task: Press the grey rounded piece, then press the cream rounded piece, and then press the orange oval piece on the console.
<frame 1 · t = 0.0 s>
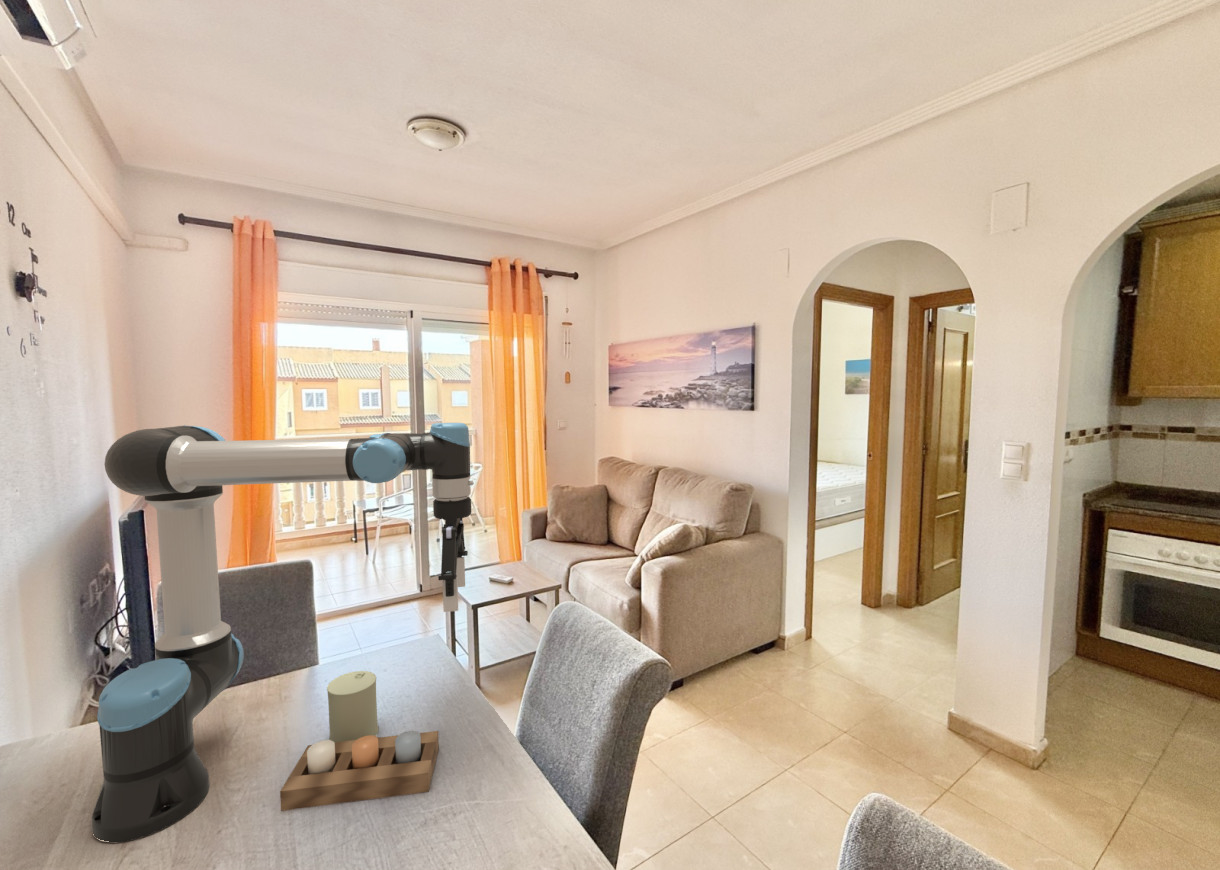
hand: (455, 598, 110), 28 cm above the table, fingers open, 13 cm apart
orange oval piece: (365, 754, 97), point 4 cm above the table, slide at 0.0 cm
console: (366, 776, 97), on the table
grey rounded piece: (408, 749, 98), point 4 cm above the table, slide at 0.0 cm
cream rounded piece: (321, 760, 95), point 4 cm above the table, slide at 0.0 cm
can: (354, 736, 109), on the table
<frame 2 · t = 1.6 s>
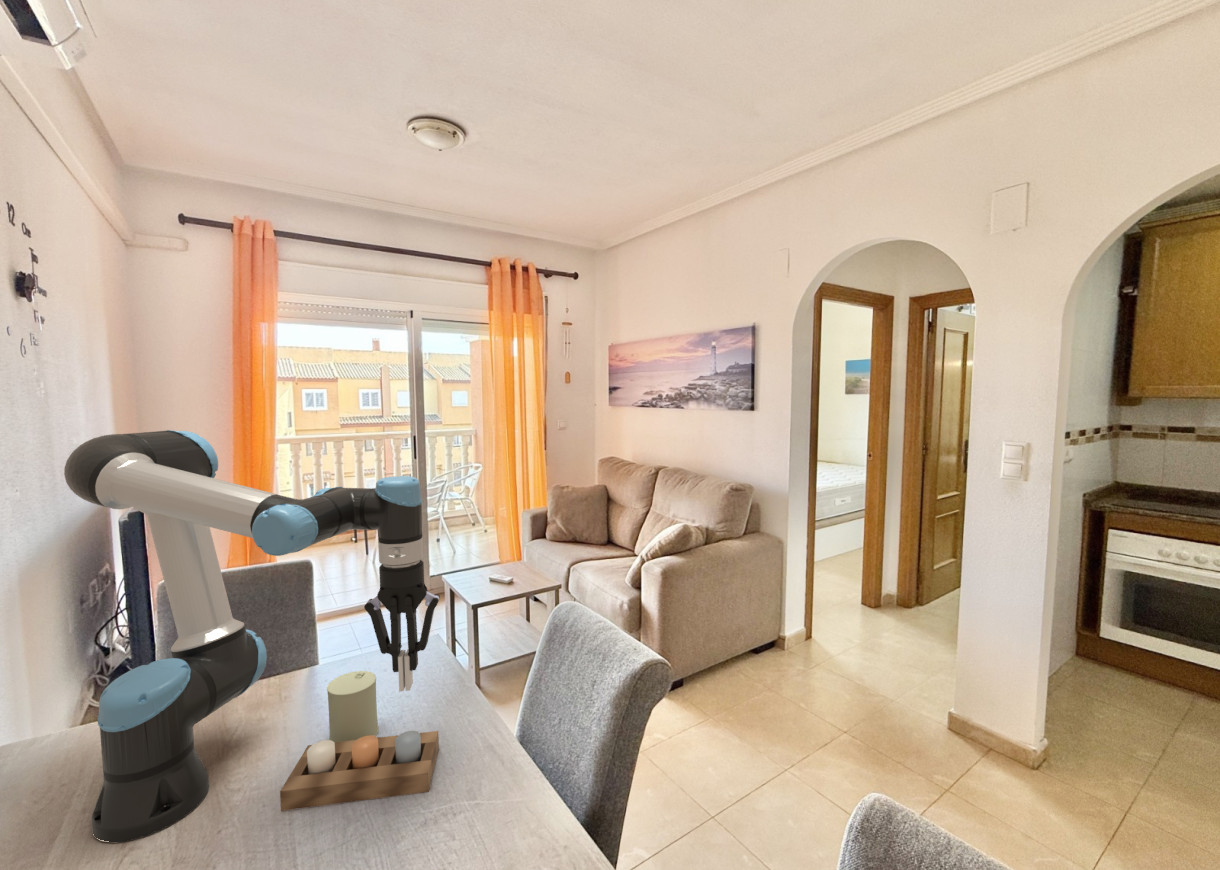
hand: (406, 686, 97), 16 cm above the table, fingers closed
nothing on the table moved.
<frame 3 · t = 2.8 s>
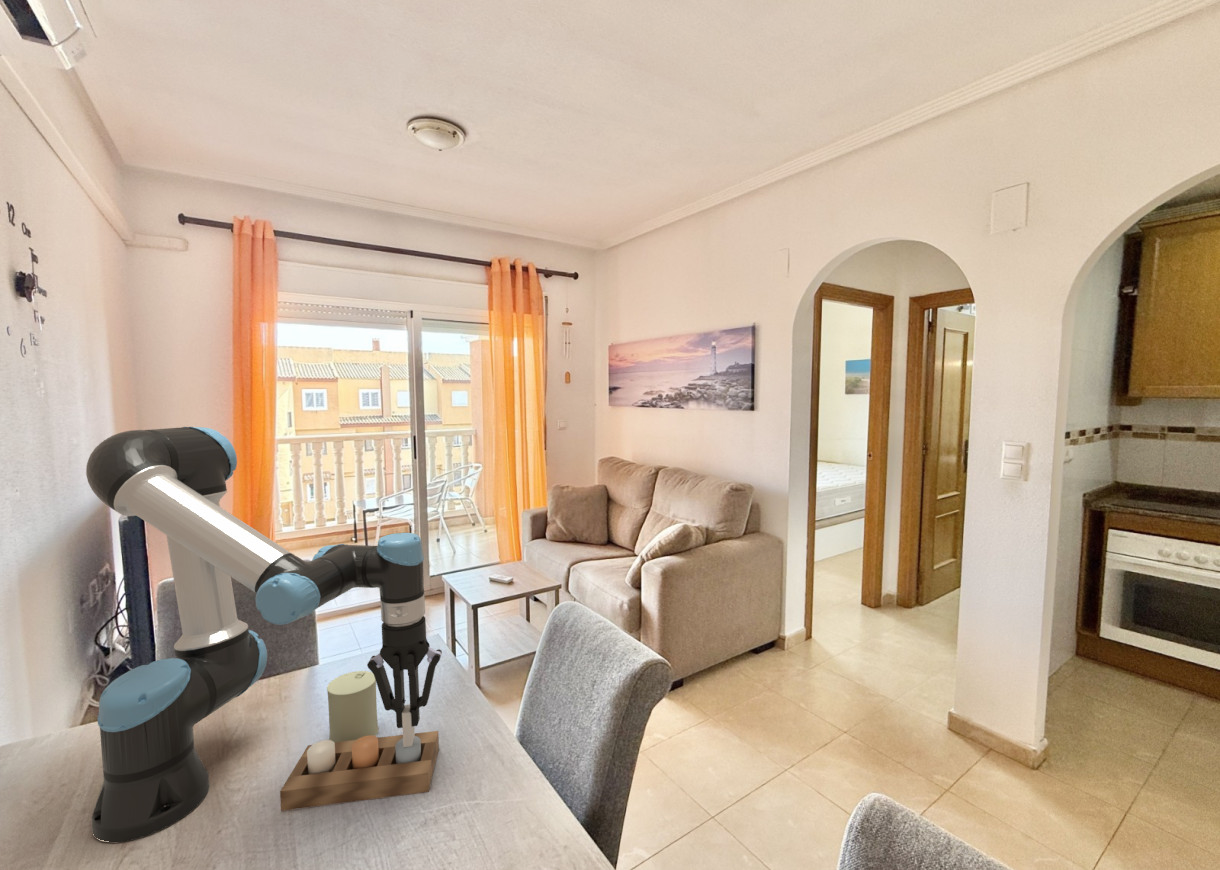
hand: (409, 742, 98), 6 cm above the table, fingers closed
grey rounded piece: (408, 755, 98), point 3 cm above the table, slide at 1.0 cm, touching gripper
everything else where it was.
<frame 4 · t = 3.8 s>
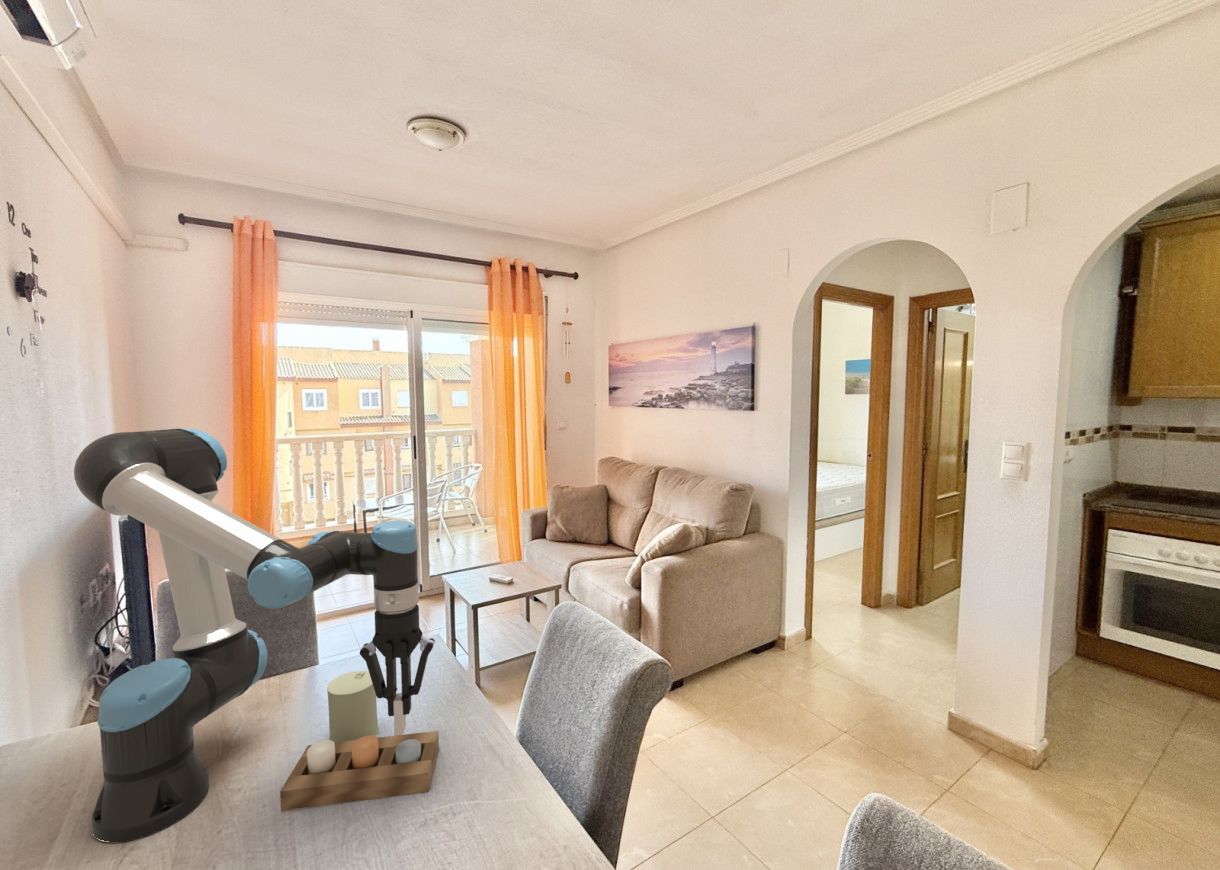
hand: (400, 730, 97), 8 cm above the table, fingers closed
grey rounded piece: (408, 758, 98), point 3 cm above the table, slide at 1.7 cm
everything else where it was.
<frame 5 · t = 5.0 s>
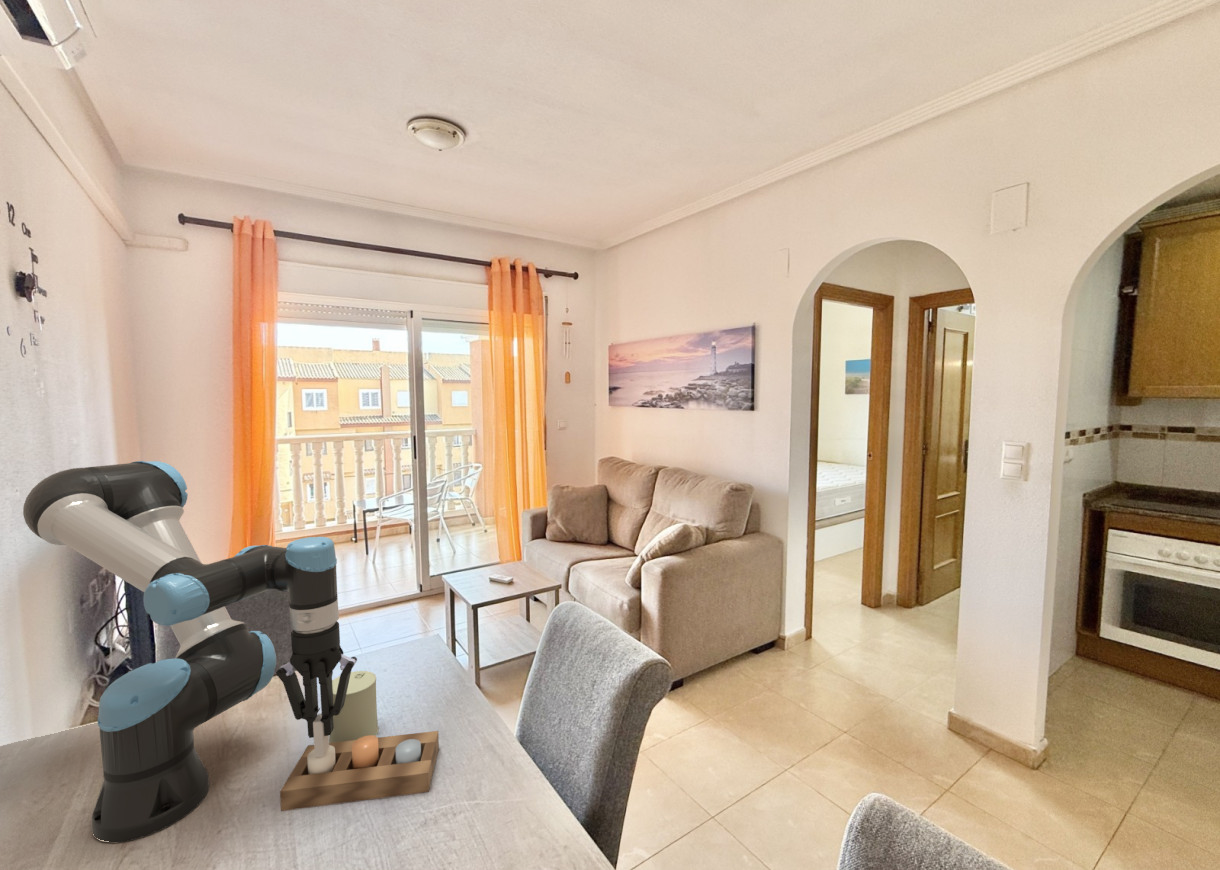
hand: (322, 751, 95), 6 cm above the table, fingers closed
cream rounded piece: (321, 765, 95), point 3 cm above the table, slide at 1.0 cm, touching gripper
everything else where it was.
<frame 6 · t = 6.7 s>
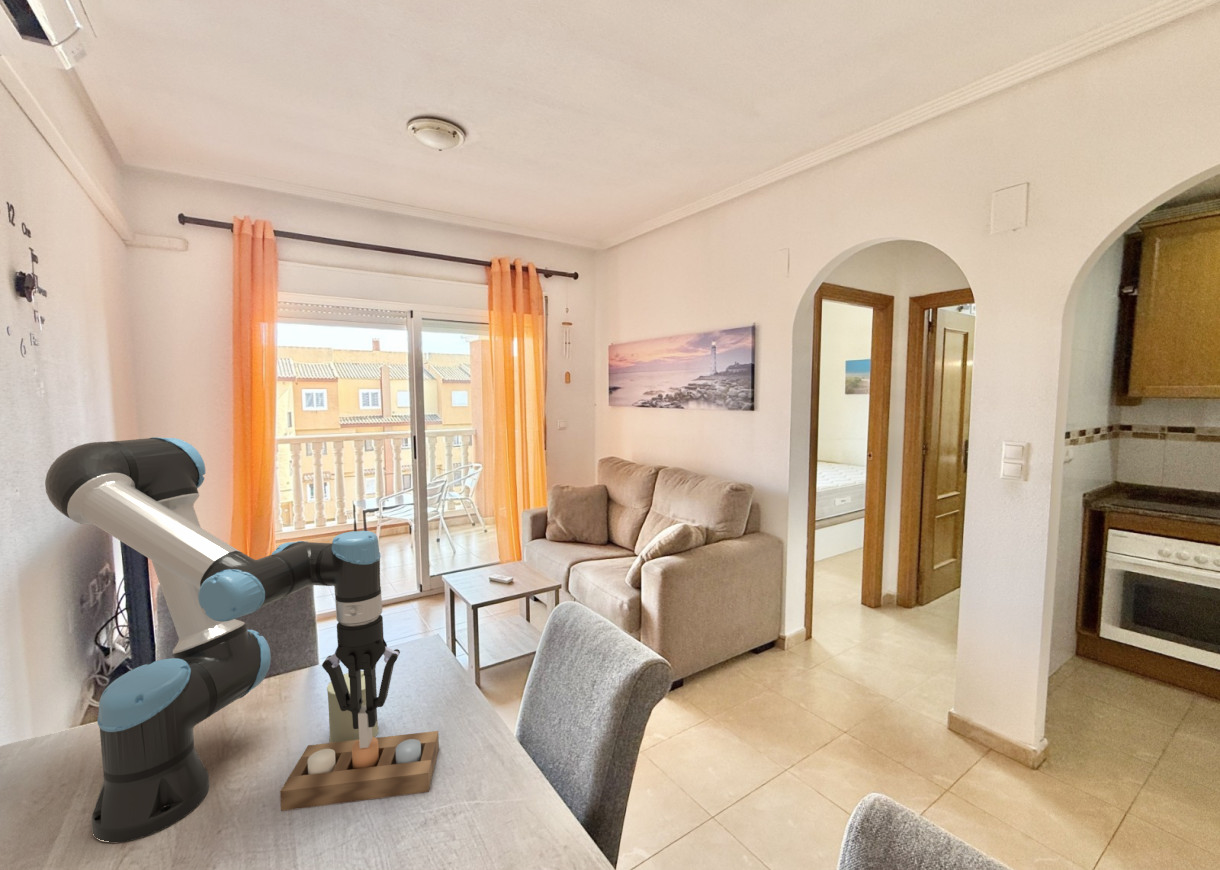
hand: (366, 743, 96), 6 cm above the table, fingers closed
orange oval piece: (365, 756, 97), point 4 cm above the table, slide at 0.3 cm, touching gripper
cream rounded piece: (322, 768, 95), point 3 cm above the table, slide at 1.7 cm
everything else where it was.
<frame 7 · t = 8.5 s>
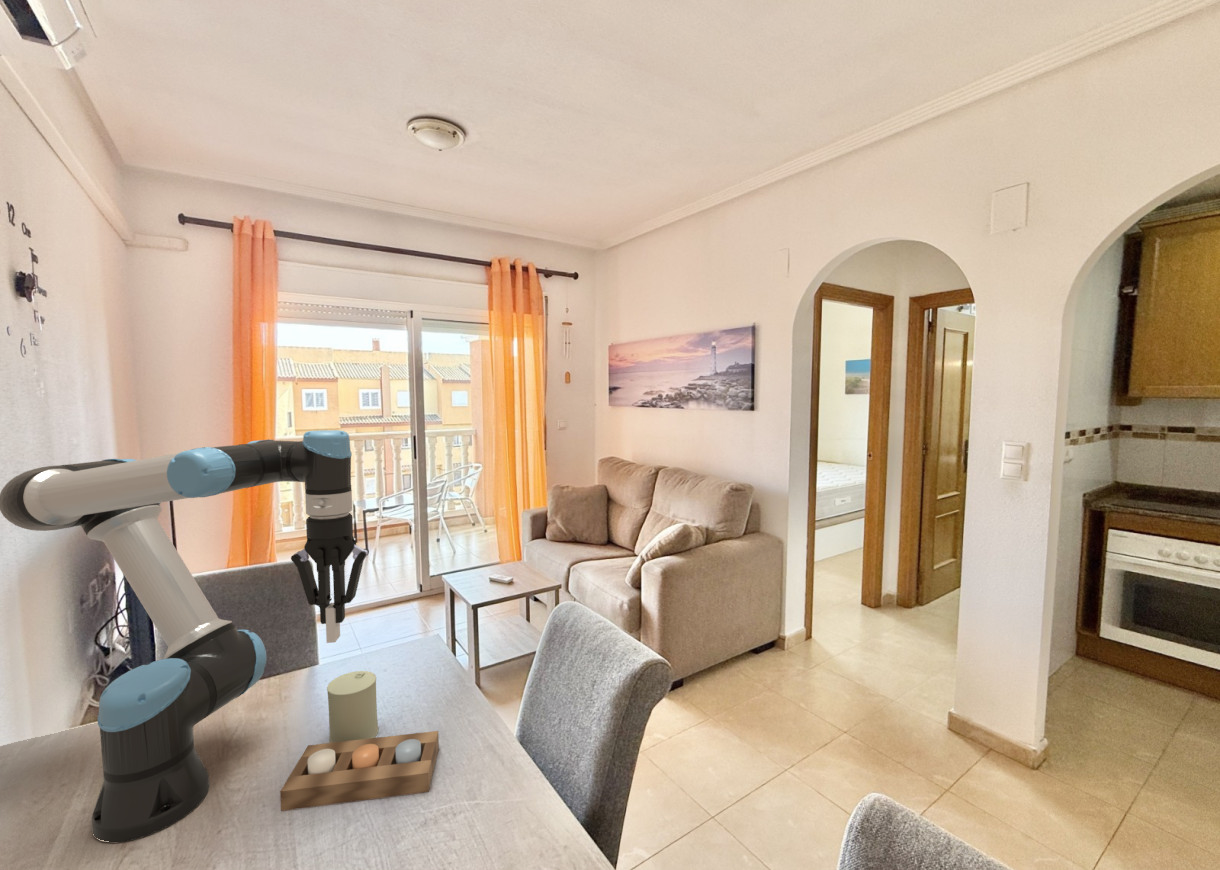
hand: (333, 639, 98), 25 cm above the table, fingers closed
orange oval piece: (365, 763, 97), point 3 cm above the table, slide at 1.7 cm
everything else where it was.
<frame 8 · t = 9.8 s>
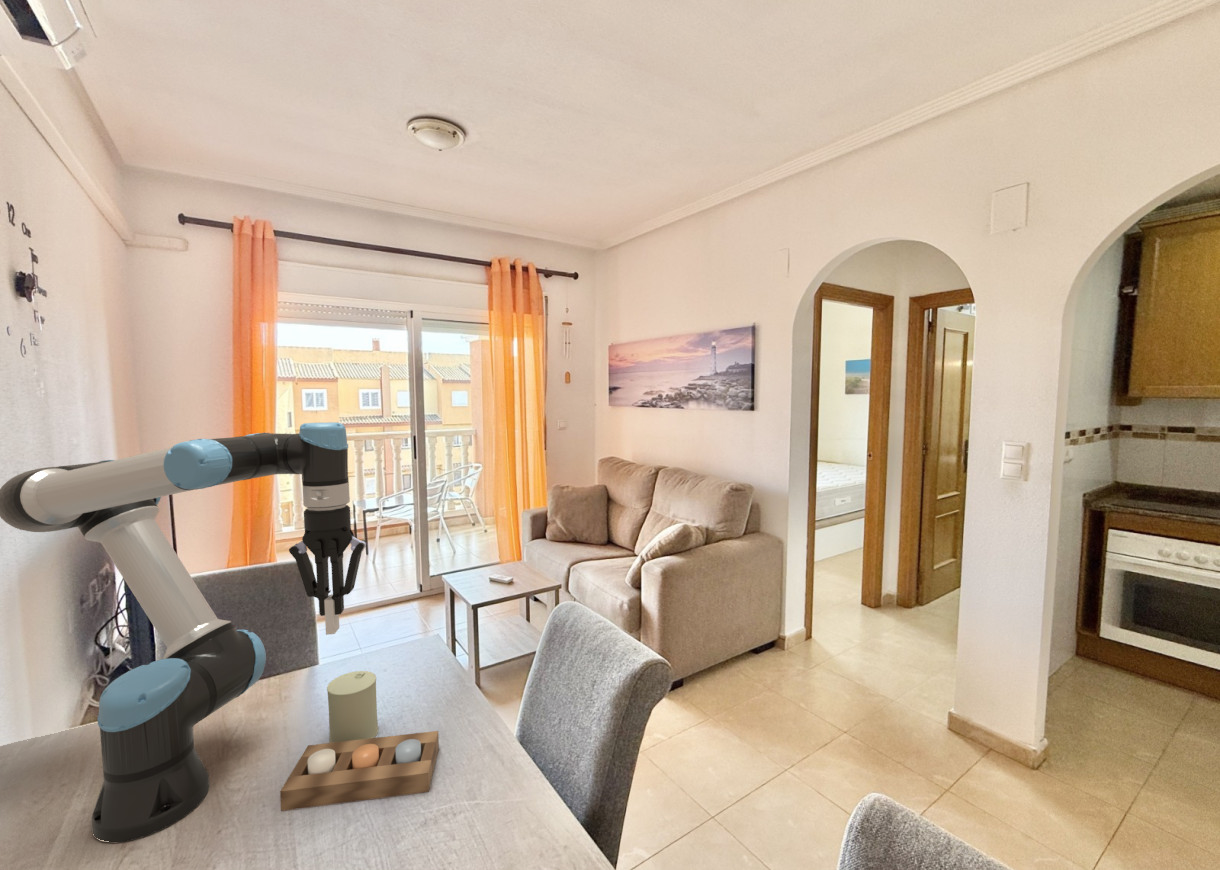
hand: (332, 631, 98), 26 cm above the table, fingers closed
nothing on the table moved.
at the end: grey rounded piece slide at 1.7 cm; cream rounded piece slide at 1.7 cm; orange oval piece slide at 1.7 cm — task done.
